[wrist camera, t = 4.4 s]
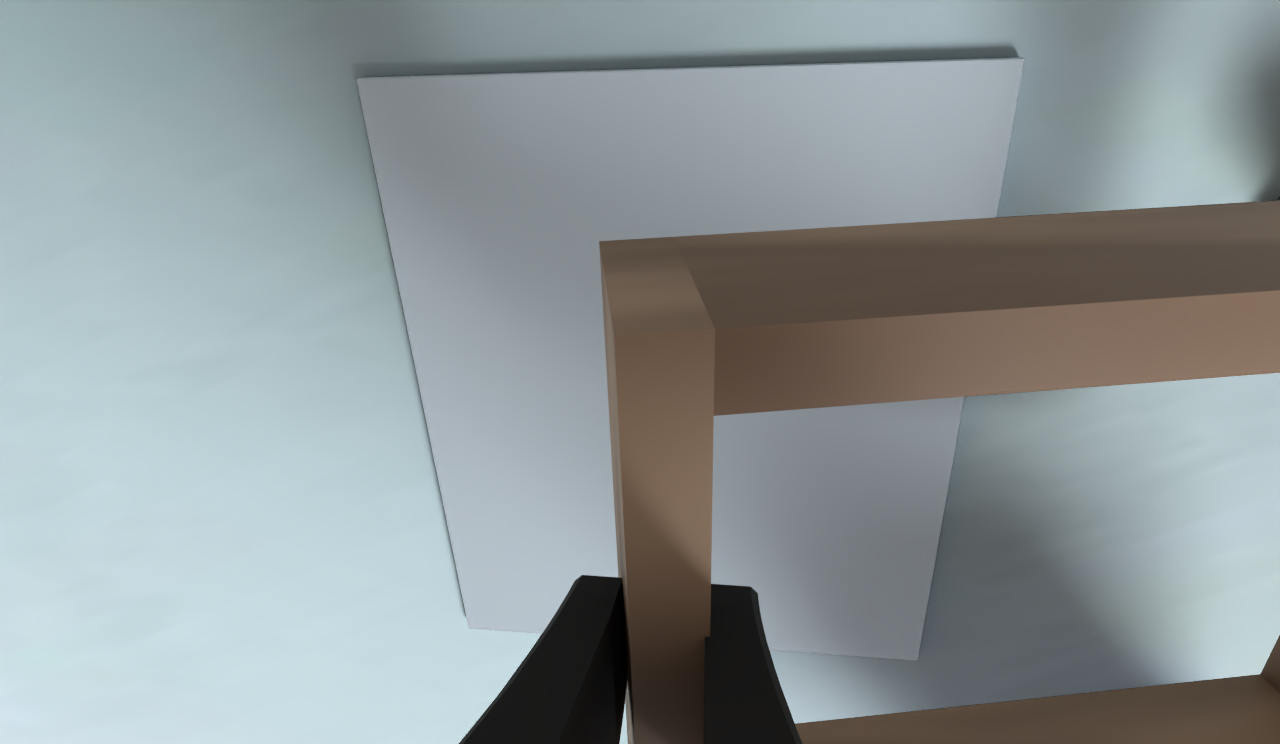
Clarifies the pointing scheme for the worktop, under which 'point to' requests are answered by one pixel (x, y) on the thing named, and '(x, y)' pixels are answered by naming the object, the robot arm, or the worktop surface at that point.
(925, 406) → the mat
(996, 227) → the wooden frame
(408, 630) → the worktop surface
